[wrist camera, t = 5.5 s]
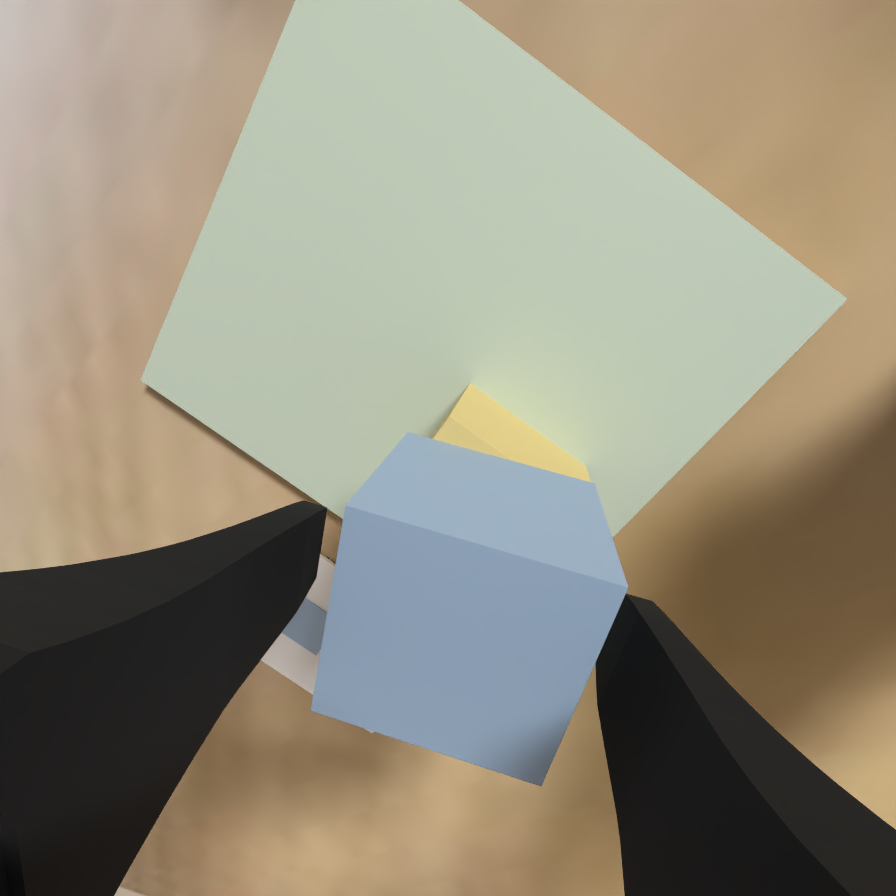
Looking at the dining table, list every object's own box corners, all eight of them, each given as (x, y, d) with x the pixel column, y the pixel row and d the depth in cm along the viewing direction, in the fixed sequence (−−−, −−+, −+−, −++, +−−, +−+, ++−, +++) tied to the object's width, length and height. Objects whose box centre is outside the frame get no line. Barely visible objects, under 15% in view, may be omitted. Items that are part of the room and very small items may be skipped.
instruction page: (453, 643, 21) (452, 648, 21) (373, 730, 23) (371, 735, 23) (281, 527, 20) (278, 529, 20) (218, 628, 23) (215, 632, 23)
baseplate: (835, 298, 14) (847, 298, 14) (515, 627, 20) (515, 637, 19) (342, -80, 13) (334, -95, 13) (152, 377, 19) (140, 380, 18)
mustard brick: (586, 466, 17) (604, 526, 12) (501, 561, 18) (492, 642, 14) (470, 383, 16) (449, 416, 12) (395, 488, 18) (354, 548, 14)
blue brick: (594, 483, 12) (628, 587, 8) (538, 635, 14) (540, 786, 10) (407, 432, 13) (345, 505, 8) (375, 585, 14) (310, 710, 10)
